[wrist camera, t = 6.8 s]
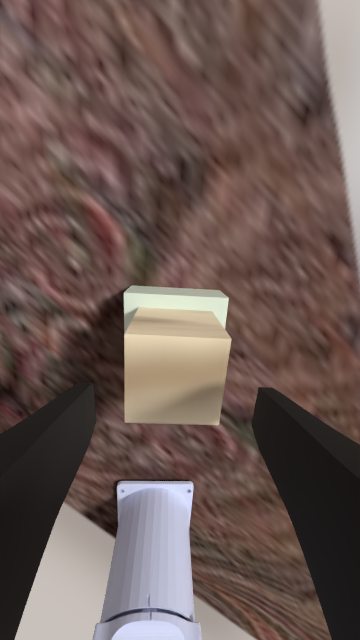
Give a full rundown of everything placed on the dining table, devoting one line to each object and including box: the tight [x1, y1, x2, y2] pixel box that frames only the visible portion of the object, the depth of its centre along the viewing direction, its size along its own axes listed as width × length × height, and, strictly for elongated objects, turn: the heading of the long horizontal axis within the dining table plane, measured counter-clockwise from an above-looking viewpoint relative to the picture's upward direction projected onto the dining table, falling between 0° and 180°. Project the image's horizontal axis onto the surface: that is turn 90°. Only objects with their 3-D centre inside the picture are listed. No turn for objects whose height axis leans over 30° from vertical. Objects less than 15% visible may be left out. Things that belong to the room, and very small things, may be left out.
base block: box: [124, 286, 229, 334], centre depth 17 cm, size 7×7×3 cm
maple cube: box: [124, 307, 231, 425], centre depth 14 cm, size 5×5×5 cm
